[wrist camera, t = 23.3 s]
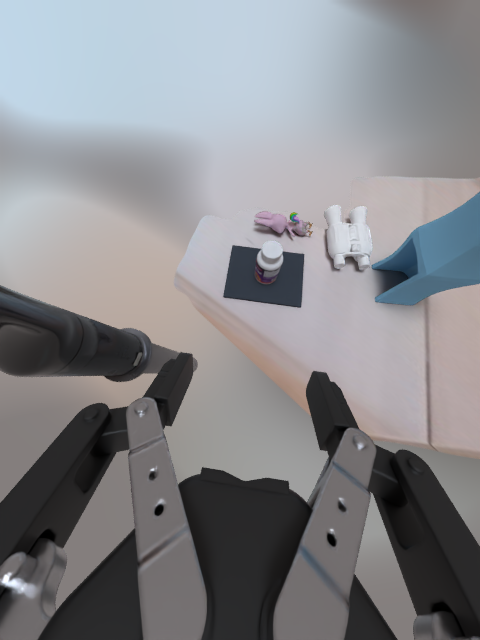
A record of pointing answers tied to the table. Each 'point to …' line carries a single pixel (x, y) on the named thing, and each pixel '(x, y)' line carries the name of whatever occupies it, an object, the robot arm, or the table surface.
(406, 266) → the vase
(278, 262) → the pill bottle
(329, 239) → the binoculars
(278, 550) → the robot arm
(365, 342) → the table surface
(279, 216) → the pink figurine
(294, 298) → the mat
